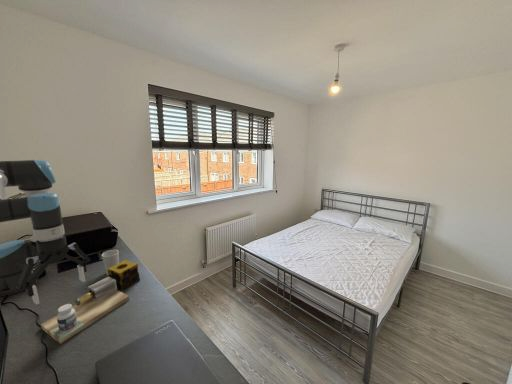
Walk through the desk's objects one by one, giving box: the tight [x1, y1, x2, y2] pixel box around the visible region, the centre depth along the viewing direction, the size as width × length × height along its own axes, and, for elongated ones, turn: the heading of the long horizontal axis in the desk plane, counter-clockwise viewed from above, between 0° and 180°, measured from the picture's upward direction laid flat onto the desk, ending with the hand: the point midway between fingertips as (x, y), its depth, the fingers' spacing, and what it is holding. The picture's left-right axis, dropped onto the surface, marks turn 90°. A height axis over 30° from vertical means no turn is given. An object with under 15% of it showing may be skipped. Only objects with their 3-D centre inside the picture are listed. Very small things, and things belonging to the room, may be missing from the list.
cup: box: [101, 249, 120, 276], centre depth 120 cm, size 8×8×12 cm
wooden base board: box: [40, 276, 130, 345], centre depth 91 cm, size 16×26×8 cm, turn 154°
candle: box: [107, 259, 141, 291], centre depth 111 cm, size 10×10×10 cm
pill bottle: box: [56, 303, 77, 333], centre depth 80 cm, size 5×5×9 cm
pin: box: [74, 291, 95, 306], centre depth 94 cm, size 3×8×3 cm, turn 154°
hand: (61, 290), depth 78 cm, fingers open, 13 cm apart
